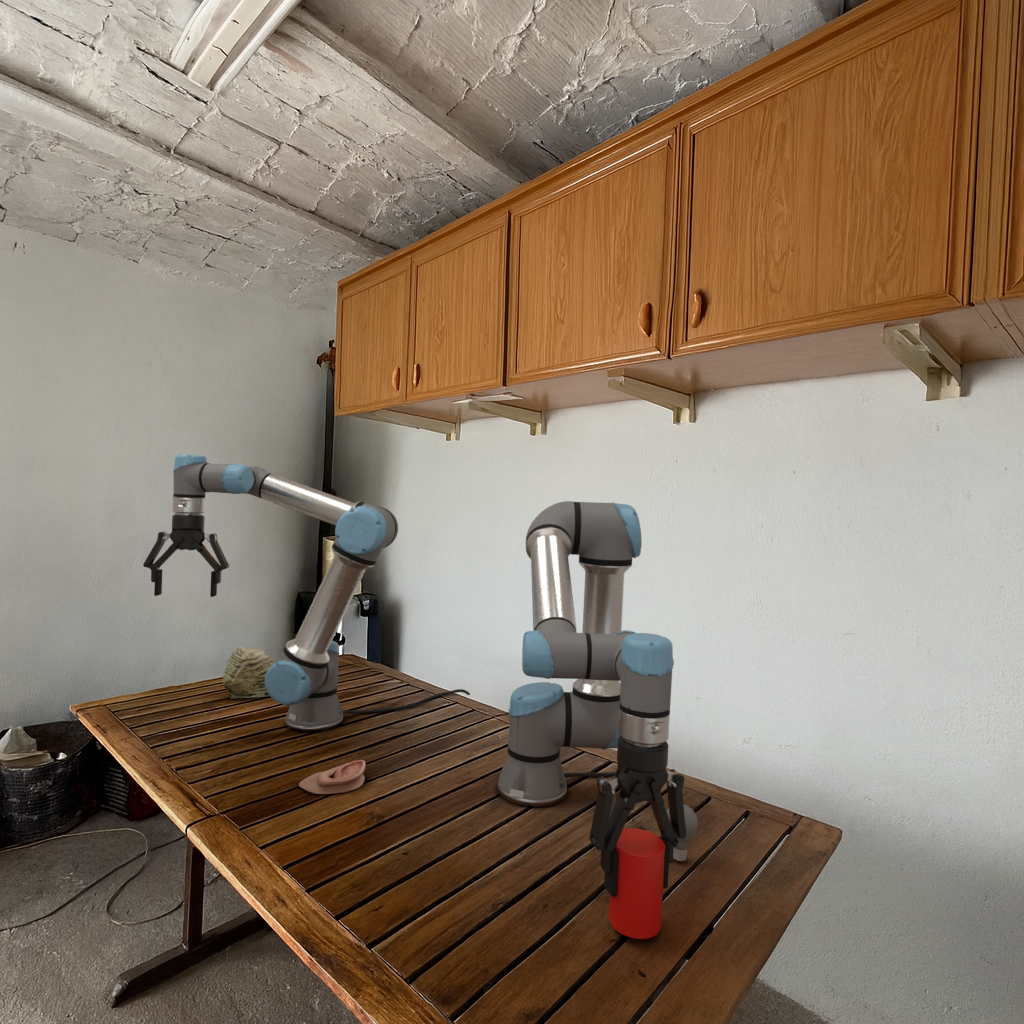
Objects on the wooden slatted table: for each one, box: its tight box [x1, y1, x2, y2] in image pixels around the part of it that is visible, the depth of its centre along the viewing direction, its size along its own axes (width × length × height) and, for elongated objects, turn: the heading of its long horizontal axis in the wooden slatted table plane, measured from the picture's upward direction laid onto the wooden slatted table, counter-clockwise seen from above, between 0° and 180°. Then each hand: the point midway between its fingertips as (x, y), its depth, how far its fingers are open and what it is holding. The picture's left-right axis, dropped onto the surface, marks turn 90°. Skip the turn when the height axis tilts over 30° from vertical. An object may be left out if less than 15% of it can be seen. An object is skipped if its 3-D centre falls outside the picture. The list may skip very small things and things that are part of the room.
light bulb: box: [666, 803, 699, 862], centre depth 116 cm, size 6×6×10 cm
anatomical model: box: [298, 759, 367, 795], centre depth 140 cm, size 13×4×12 cm
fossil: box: [222, 646, 275, 699], centre depth 198 cm, size 9×18×15 cm, turn 132°
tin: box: [608, 827, 665, 940], centre depth 96 cm, size 8×8×12 cm
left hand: (185, 595), depth 165 cm, fingers open, 13 cm apart
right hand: (635, 887), depth 96 cm, fingers closed on tin, 8 cm apart
